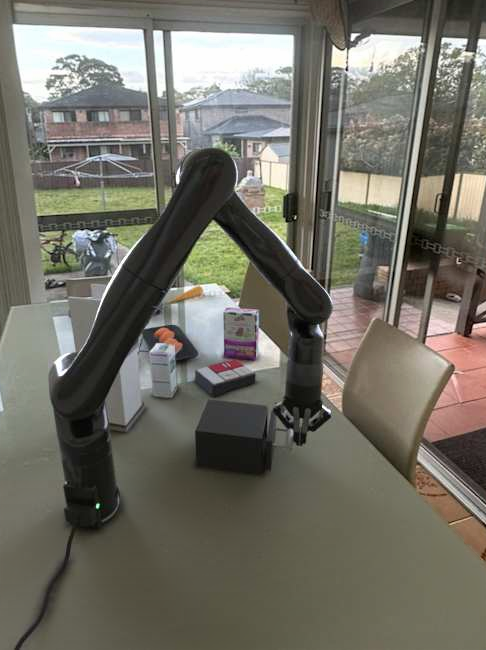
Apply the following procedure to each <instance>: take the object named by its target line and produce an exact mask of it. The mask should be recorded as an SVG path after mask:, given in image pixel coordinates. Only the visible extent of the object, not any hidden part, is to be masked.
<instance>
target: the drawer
mask: <svg viewBox="0 0 486 650" xmlns="http://www.w3.org/2000/svg"><path fill="white" fill-rule="evenodd" d="M268 423H269V424H268V428H267V441H266V448H265V471H269V472H272V467H273V459H274V451H275V448H280V449H285V451H286V452H292V450H293V447H294V442H293V436H294V431H293V430H292V429H287V428H286V427H282V426H281V427H280V426H277V416H276V414H275V413H274V412H273V410H271V412H270V417H269V422H268ZM278 431H279V432H285V433H286V435H285V443H276V437H277V436H276V434H277V432H278ZM264 440H265V427H264V433H263V438H262V451H263V446H264Z"/></svg>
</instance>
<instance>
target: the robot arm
mask: <svg viewBox="0 0 486 650" xmlns="http://www.w3.org/2000/svg"><path fill="white" fill-rule="evenodd" d="M174 178H175V179H174V180H175V183H176V186H175V189H174V191H173V193H172V194H171V196H170V198H169V200H168V202H167V204H166V206H165V207H164V209H163V211H162V212H161V214H160V215H159V216H158V218H157V219H156V221H155V222H154V223H153V224H152V225H151V226H150V227H149V228H148V229H147V231H145V232H144V234H143V235H142V236H141V237H140V238H139V239H138V240H137V241H136V242H135V244H134V245H133V246H131V249H129V251H128V252H127V253H126V255H125V256H124V258H123V259H122V261H121V263H120V264H119V265H118V267H117V269H116V270H115V272H114V274H113V275H112V277H111V279H110V281H109V282H108V284H107V285H108V286H107V288H106V290H105V293H104V295H103V298H102V300H101V303H100V306H99V309H98V312H97V315H96V318H95V322H94V325H93V328H92V331H91V333H90V335H89V337H88V339H87V341H86V343H85V345H84V347H83V348H82V350H81V351H80V352H76V351H72V352H68V353H65V354H63V355H61V356H60V357H58V358H56V360H55V361H54V363H53V364H52V365H51V367H50V369H49V371H48V378H47V380H48V381H47V382H48V393H49V400H50V403H51V406H52V409H53V416H54V422H55V423H54V424H55V431H56V437H57V443H58V448H59V454H60V460H61V465H62V472H63V477H64V484H63V485H62V487H63V493H64V498H65V499H64V500H65V506H64V508H63V512H64V519H65V522H66V523H69V524H70V525H71V526H72V528H71V530H70V533H69V536H68V540H67V543H66V549H65V555H64V558H63V561H62V563H61V565H60V566H59V568H58V569H57V571H56V573H55V574H54V575H53V577H52V578H51V580H50V582H49V583H48V586H47V588H46V590H45V593H44V596H43V600H42V604H41V608H40V611H39V613H38V615H37V617H36V619H35V620H34V622H33V623H32V624H31V626H30V627H28V629H27V630H26V631H25V633H24V634H23V635H21V637H20V638H19V640H18V642H17V643H16V645H15V647H14V649H13V650H21V648H22V646H23V644H24V643H25V641H26V640H28V638H29V637H30V636H31V635H32V634H33V632H35V630H36V629H37V628H38V626H39V625H40V623H41V622H42V620H43V618H44V615H45V613H46V610H47V608H48V603H49V599H50V595H51V592H52V589H53V587H54V586H55V583H56V582H57V580H58V578H59V577H60V576H61V575H62V573H63V571H64V570H65V568H66V566H67V564H68V562H69V559H70V556H71V548H72V544H73V540H74V537H75V534H76V531H77V528H78V527H84V528H91V529H94V530H95V529H96V530H100V529H101V527H102V526H103V525H104V524H106V523H107V522H109V521H110V520H112V519H113V518H114V517H115V516H116V514H117V513H118V511H119V508H120V498H121V494H120V489H119V487H118V485H117V478H116V470H115V469H116V468H115V461H114V454H113V445H112V444H113V443H112V436H111V429H110V426H109V420H108V414H107V409H106V404H105V399H106V397H107V395H108V393H109V391H110V389H111V387H112V385H113V383H114V381H115V378H116V376H117V374H118V372H119V370H120V368H121V366H122V364H123V363H124V361H125V359H126V357H127V355H128V354H129V352H130V351H131V349H132V348H133V346H134V345H135V343H136V342H137V340H139V338H140V337H141V336H142V332H143V331H144V329H146V328H147V326H148V324H149V323H150V321H151V320H152V318H153V316H155V314H156V313H157V312H156V311H157V309H158V308H159V306H160V304H161V303H162V304H163V301H164V300H165V298H166V297H167V295H168V294H169V292H170V290H171V289H172V286H173V284H174V283H175V281H176V279H177V278H178V276H179V274H180V273H181V271H182V270H183V268H184V266H185V264H186V263H187V261H188V259H189V257H190V255H191V254H192V252H193V249H194V248H195V246H196V245H197V243H198V241H199V239H200V238H201V236H202V235H203V234H204V232H205V231H206V230H207V229H208V228H209V226H210V225H211V223H212V222H213V221H214V222H215V223H216V225H217V226H219V227H220V228H221V229H222V231H223V232H224V233H225V234H226V235H227V236H228V237H229V238H230V239H231V241H233V243H234V244H235V245H236V246H237V247H238V249H239V250H240V251H241V252H242V253H243V254H244V256H245V257H246V258H247V260H249V262H250V263H251V264H252V266H254V268H255V269H256V271H258V272H259V274H260V275H261V276H262V277H263V278H264V279H265V280H266V282H267V283H268V284H269V285H270V286H271V287H272V288H273V289H274V290H275V291H277V292H278V293H279V294H280V295H281V297H283V298H284V299H285V301H286V302H285V309H286V310H285V311H286V318H287V319H286V320H287V326H288V332H289V340H288V355H287V361H286V368H285V387H284V388H285V389H284V390H285V391H284V396H283V397H282V400H281V401H279V402H278V401H275V402H274V403H273V407H272V411H273V412H274V413H275V414H276V418H278V420H279V421H280V422H281V423H282V425H283V426H284V428H287V429H292V430H293V431H294V435H293V444H295V445H296V446H298V447H303V446H304V445H305V444H306V443H307V435H308V432H312V433H314V432H317V430H318V429H320V427H322V426H323V425H324V424H326V422H328V421H329V420H330V419H331V418H332V409H331V408H330V407H326V406H324V405H323V400H322V388H323V375H324V351H325V336H324V333H323V331H322V330H321V327H320V325H323V324H324V323H326V322H327V321H328V320H329V319H330V317H332V314H333V310H334V303H333V299H332V297H331V295H330V294H329V293H328V292H327V291H326V289H325V288H324V287H323V286H322V285H321V284H320V283H319V282H318V281H317V279H316V278H314V276H312V275H311V273H309V272H308V271H307V270H306V268H305V267H304V266H303V264H302V263H301V261H300V260H299V258H298V257H297V256H296V254H294V252H293V251H292V249H290V247H289V246H288V245H287V244H286V242H285V241H284V240H283V239H282V238H281V237H280V236H279V235H278V233H276V232H275V231H274V230H273V229H272V228H271V227H270V226H269V225H268V224H267V223H266V222H264V221H263V220H262V219H261V218H260V217H259V216H258V215H257V214H256V213H254V212H253V211H252V209H251V208H250V207H249V206H248V205H247V204H246V203H245V201H244V200H243V198H241V196H240V195H239V194H238V192H237V190H236V187H237V185H238V179H239V171H238V166H237V164H236V160H235V159H234V158H233V156H232V155H231V154H230V153H229V152H228V151H226V150H225V149H222V148H219V147H213V146H208V147H207V146H206V147H200V148H197V149H193V150H191V151H188V152H187V153H185V154H184V155H182V156H181V157H180V159H179V160H178V162H177V164H176V167H175V173H174ZM286 411H287V412H286ZM288 413H289V414H288ZM316 415H317V416H316ZM291 417H292V418H293V419H292V418H291ZM313 417H314V418H313ZM312 418H313V419H312ZM301 419H302V422H301ZM311 419H312V420H311Z"/></svg>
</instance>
